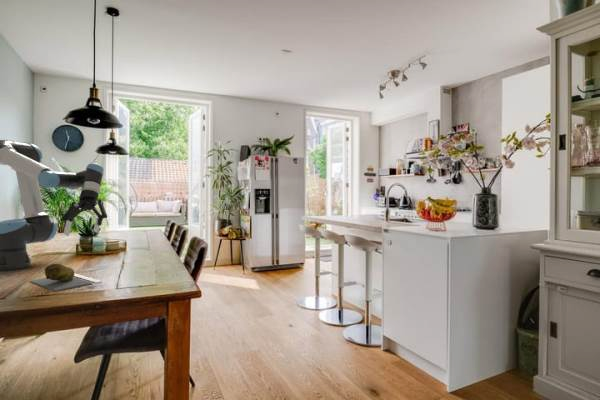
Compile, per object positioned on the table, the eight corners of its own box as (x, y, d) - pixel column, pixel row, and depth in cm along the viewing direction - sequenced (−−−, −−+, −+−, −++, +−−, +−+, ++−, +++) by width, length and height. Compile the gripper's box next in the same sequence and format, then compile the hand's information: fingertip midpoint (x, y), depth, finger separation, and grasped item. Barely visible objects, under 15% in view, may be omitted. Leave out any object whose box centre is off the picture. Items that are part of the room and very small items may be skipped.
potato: (83, 279, 147) (82, 260, 147) (51, 286, 135) (51, 266, 135) (69, 277, 150) (69, 258, 150) (38, 284, 138) (37, 264, 138)
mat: (29, 281, 144) (29, 280, 144) (64, 275, 155) (64, 274, 155) (55, 291, 131) (55, 290, 131) (91, 284, 141) (91, 282, 141)
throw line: (68, 274, 156) (68, 274, 156) (74, 273, 158) (74, 273, 158) (96, 283, 143) (96, 282, 143) (102, 281, 145) (102, 281, 145)
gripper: (119, 194, 171) (112, 233, 162) (69, 198, 171) (59, 238, 161) (111, 186, 165) (103, 227, 155) (59, 191, 164) (48, 232, 155)
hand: (81, 233), depth 158 cm, fingers open, 13 cm apart
